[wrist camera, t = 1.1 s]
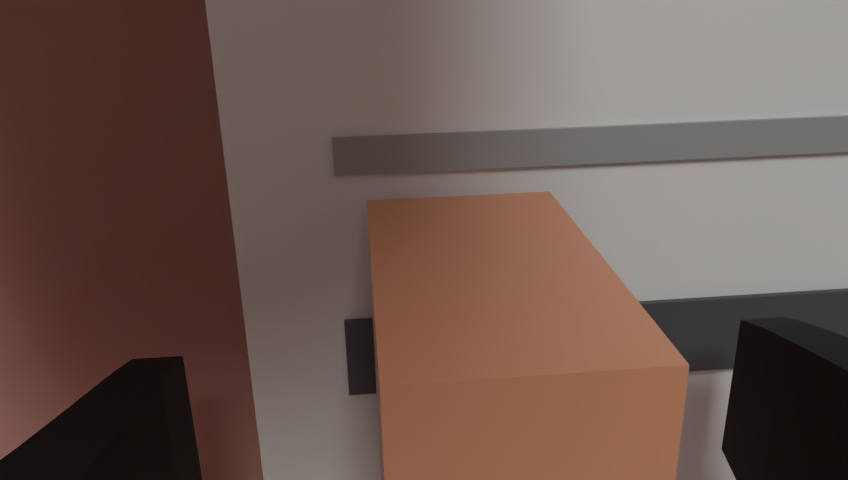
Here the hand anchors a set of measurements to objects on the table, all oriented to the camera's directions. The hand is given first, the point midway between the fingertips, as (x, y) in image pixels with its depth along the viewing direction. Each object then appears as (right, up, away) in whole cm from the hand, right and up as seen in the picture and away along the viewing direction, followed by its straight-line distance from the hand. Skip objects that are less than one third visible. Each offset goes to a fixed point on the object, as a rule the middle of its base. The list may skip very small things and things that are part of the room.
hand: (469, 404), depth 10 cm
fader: (0, 0, +1) cm, 1 cm away
